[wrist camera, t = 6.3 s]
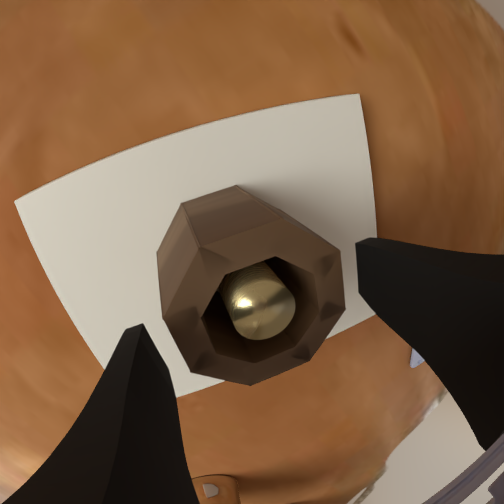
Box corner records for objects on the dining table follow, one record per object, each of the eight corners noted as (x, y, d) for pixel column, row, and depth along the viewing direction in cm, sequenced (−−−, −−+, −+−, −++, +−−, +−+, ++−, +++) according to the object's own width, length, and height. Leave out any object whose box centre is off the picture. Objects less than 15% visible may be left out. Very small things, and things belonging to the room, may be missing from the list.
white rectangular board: (342, 95, 14) (359, 93, 13) (365, 301, 20) (378, 312, 19) (26, 193, 11) (14, 201, 10) (134, 391, 17) (135, 409, 16)
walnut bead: (271, 173, 13) (334, 199, 9) (295, 283, 16) (348, 342, 11) (142, 216, 12) (138, 268, 8) (187, 324, 15) (206, 402, 10)
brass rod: (233, 214, 15) (289, 274, 9) (243, 251, 16) (299, 325, 10) (193, 228, 14) (224, 299, 9) (205, 265, 15) (242, 348, 10)
